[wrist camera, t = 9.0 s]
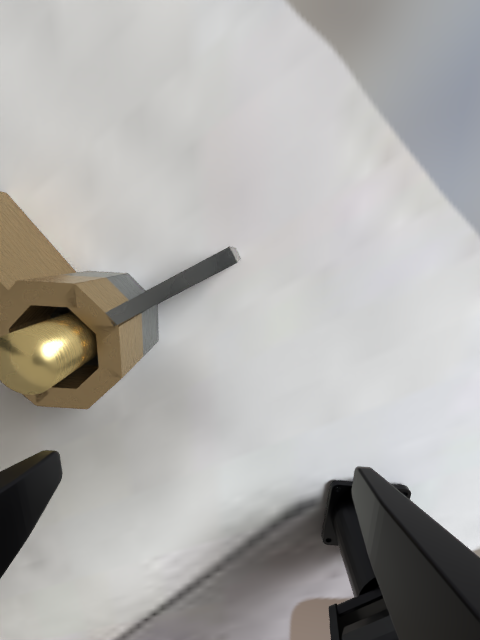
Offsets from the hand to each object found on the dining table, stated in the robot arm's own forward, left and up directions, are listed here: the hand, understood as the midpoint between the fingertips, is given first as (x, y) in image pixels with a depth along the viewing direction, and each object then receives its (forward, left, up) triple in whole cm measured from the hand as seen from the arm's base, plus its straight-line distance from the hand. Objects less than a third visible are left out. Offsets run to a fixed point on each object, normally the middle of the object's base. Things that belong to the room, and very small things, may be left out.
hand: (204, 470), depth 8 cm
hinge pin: (+1, +9, -12) cm, 15 cm away
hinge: (+3, +8, -12) cm, 15 cm away
